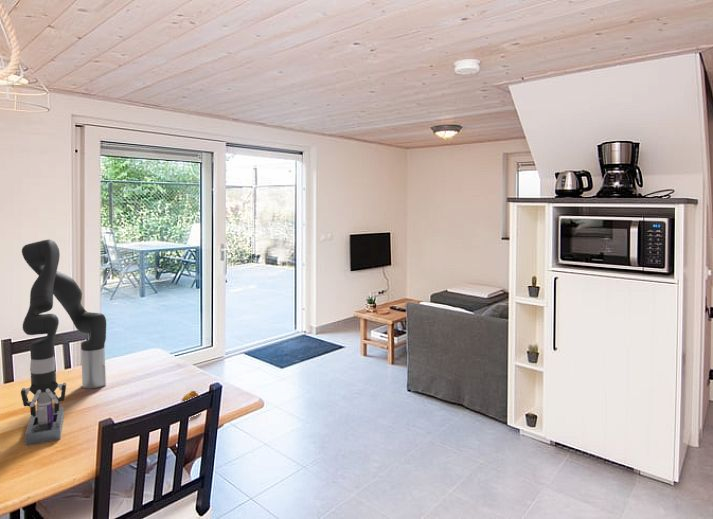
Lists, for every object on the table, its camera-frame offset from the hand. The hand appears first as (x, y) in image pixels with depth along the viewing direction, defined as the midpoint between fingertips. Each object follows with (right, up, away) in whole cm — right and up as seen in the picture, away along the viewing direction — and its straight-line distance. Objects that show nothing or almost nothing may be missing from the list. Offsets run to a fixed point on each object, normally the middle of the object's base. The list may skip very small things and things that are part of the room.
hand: (45, 413), depth 173 cm
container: (0, -6, +1) cm, 6 cm away
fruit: (+46, -5, +21) cm, 51 cm away
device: (0, -6, +1) cm, 6 cm away
